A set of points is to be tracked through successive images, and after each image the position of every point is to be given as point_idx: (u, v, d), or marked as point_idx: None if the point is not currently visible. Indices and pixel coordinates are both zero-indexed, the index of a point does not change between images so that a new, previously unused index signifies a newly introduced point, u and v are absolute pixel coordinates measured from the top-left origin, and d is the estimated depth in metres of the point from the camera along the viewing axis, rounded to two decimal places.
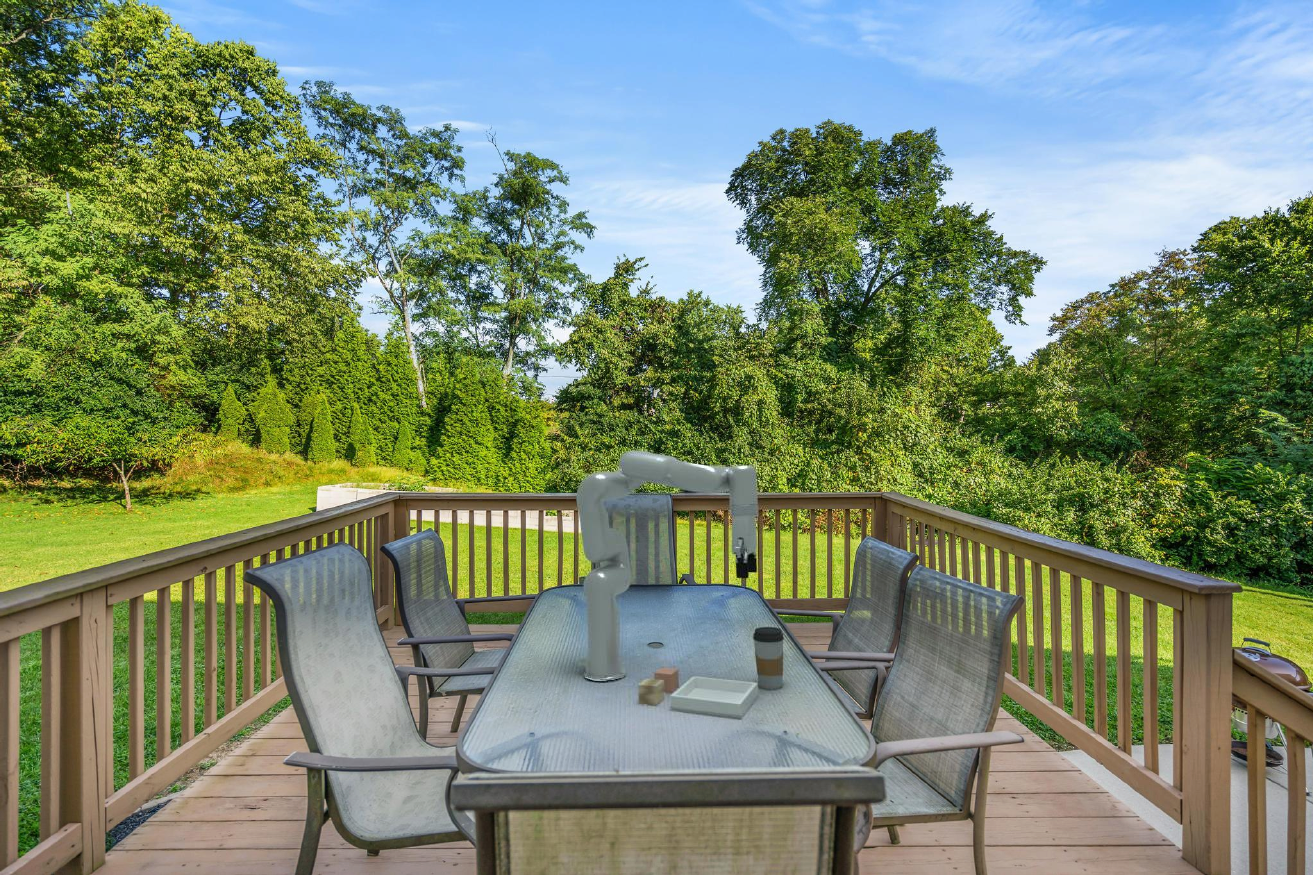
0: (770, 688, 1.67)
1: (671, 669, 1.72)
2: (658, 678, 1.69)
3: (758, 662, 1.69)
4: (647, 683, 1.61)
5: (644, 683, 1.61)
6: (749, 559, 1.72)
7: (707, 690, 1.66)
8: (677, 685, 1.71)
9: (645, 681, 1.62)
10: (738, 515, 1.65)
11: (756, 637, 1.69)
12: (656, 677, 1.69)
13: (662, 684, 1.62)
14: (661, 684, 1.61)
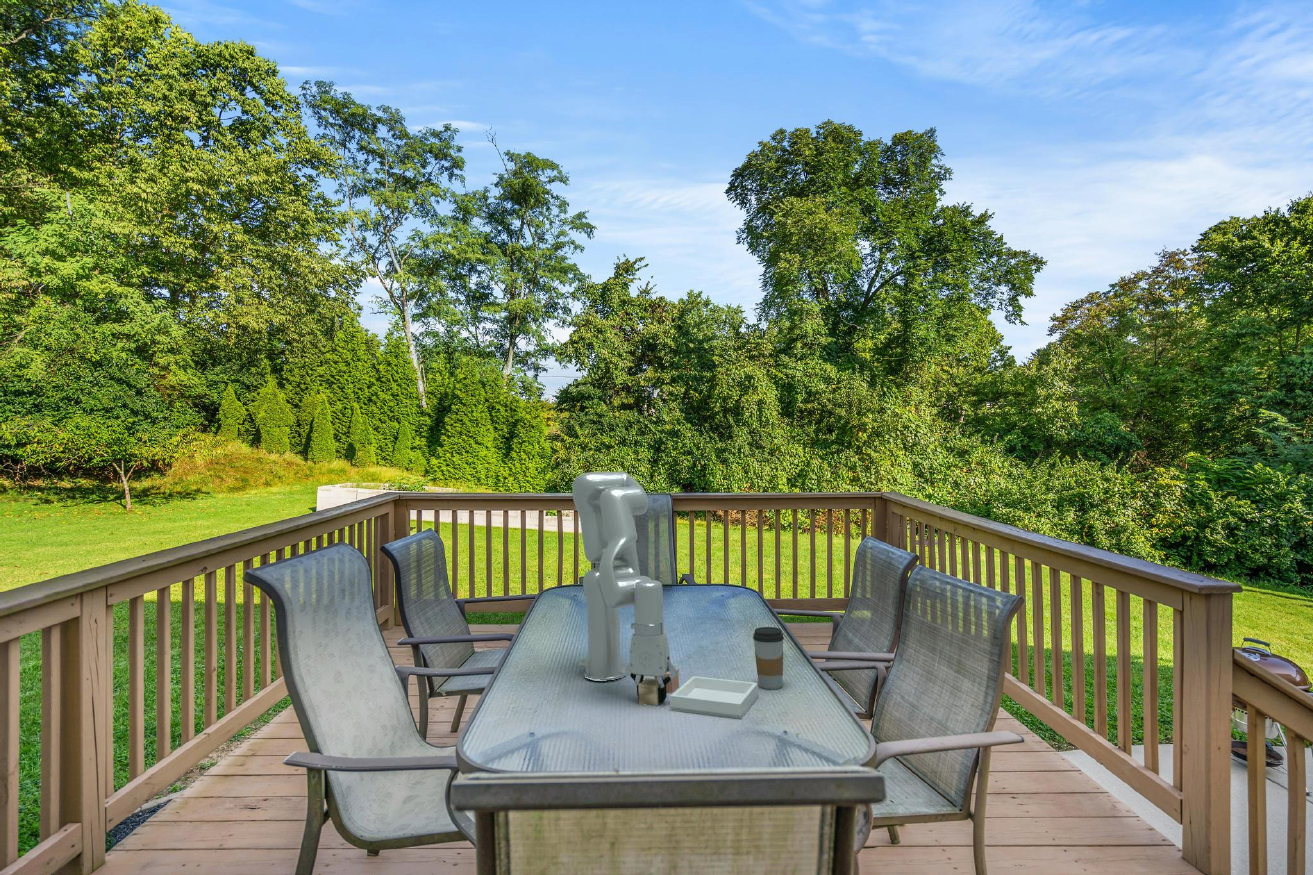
0: (770, 688, 1.67)
1: None
2: None
3: (758, 662, 1.69)
4: (647, 683, 1.61)
5: (644, 683, 1.61)
6: None
7: (707, 690, 1.66)
8: (677, 685, 1.71)
9: (645, 681, 1.62)
10: (661, 634, 1.60)
11: (756, 637, 1.69)
12: (656, 677, 1.69)
13: None
14: None
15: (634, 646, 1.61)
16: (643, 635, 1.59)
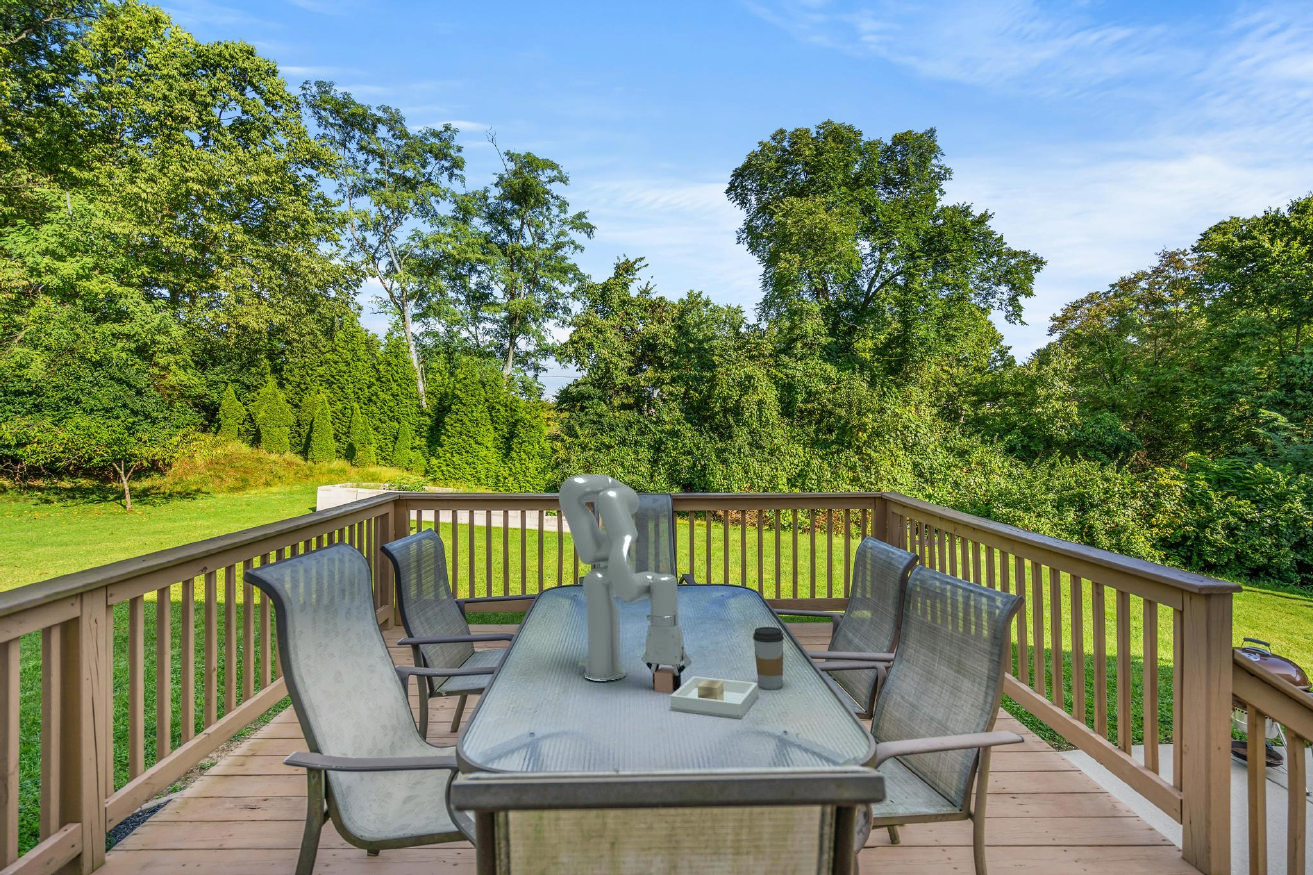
0: (770, 688, 1.67)
1: (671, 669, 1.72)
2: (658, 678, 1.69)
3: (758, 662, 1.69)
4: (706, 684, 1.55)
5: (703, 684, 1.56)
6: None
7: None
8: None
9: (703, 683, 1.57)
10: (676, 625, 1.70)
11: (756, 637, 1.69)
12: (656, 677, 1.69)
13: (722, 686, 1.57)
14: (721, 686, 1.56)
15: (650, 637, 1.70)
16: (659, 626, 1.68)
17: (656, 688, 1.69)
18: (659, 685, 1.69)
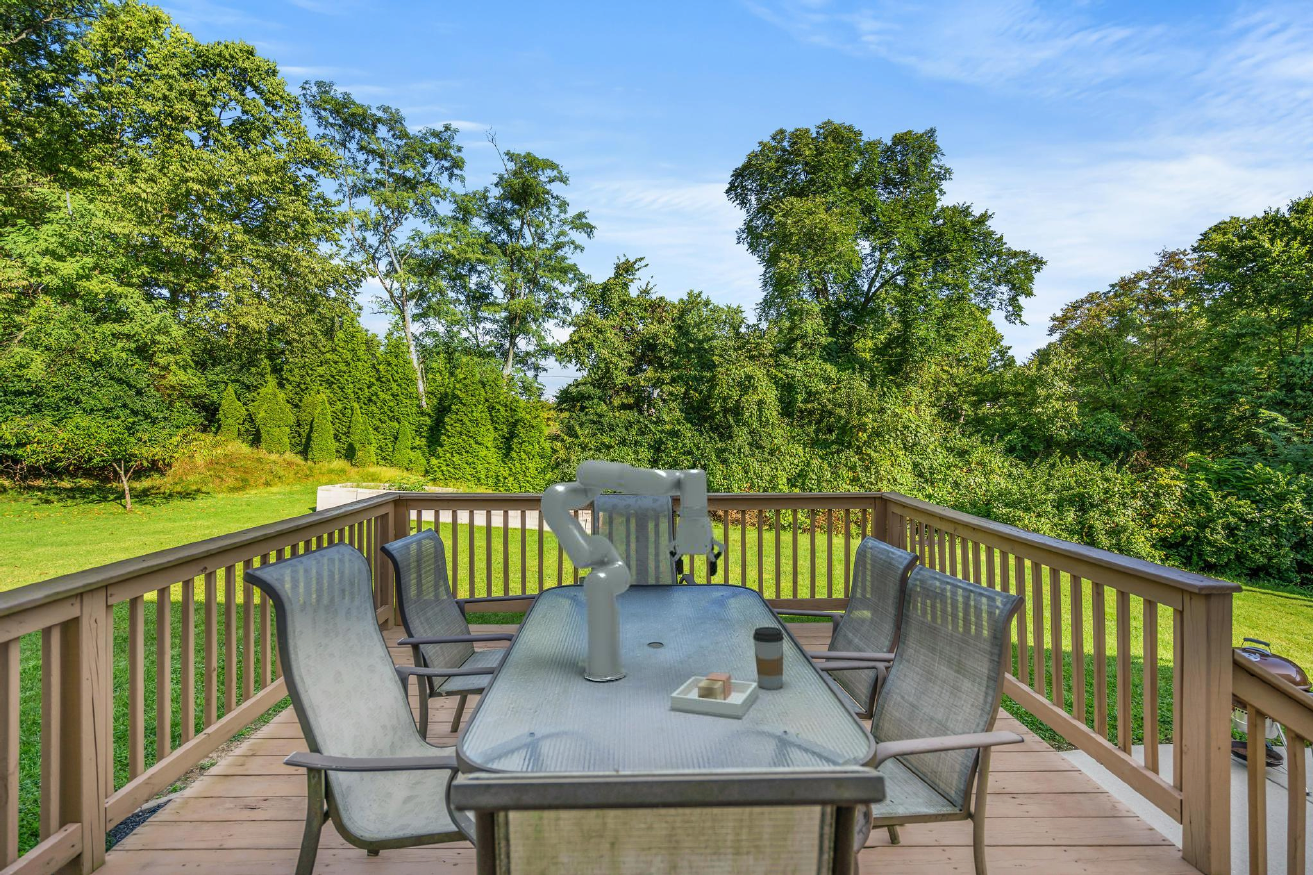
0: (770, 688, 1.67)
1: (723, 674, 1.63)
2: None
3: (758, 662, 1.69)
4: (706, 684, 1.55)
5: (703, 684, 1.56)
6: (681, 561, 1.76)
7: None
8: (729, 691, 1.62)
9: (703, 683, 1.57)
10: (706, 516, 1.73)
11: (756, 637, 1.69)
12: None
13: (722, 686, 1.57)
14: (721, 686, 1.56)
15: (680, 529, 1.74)
16: (689, 517, 1.71)
17: None
18: None
